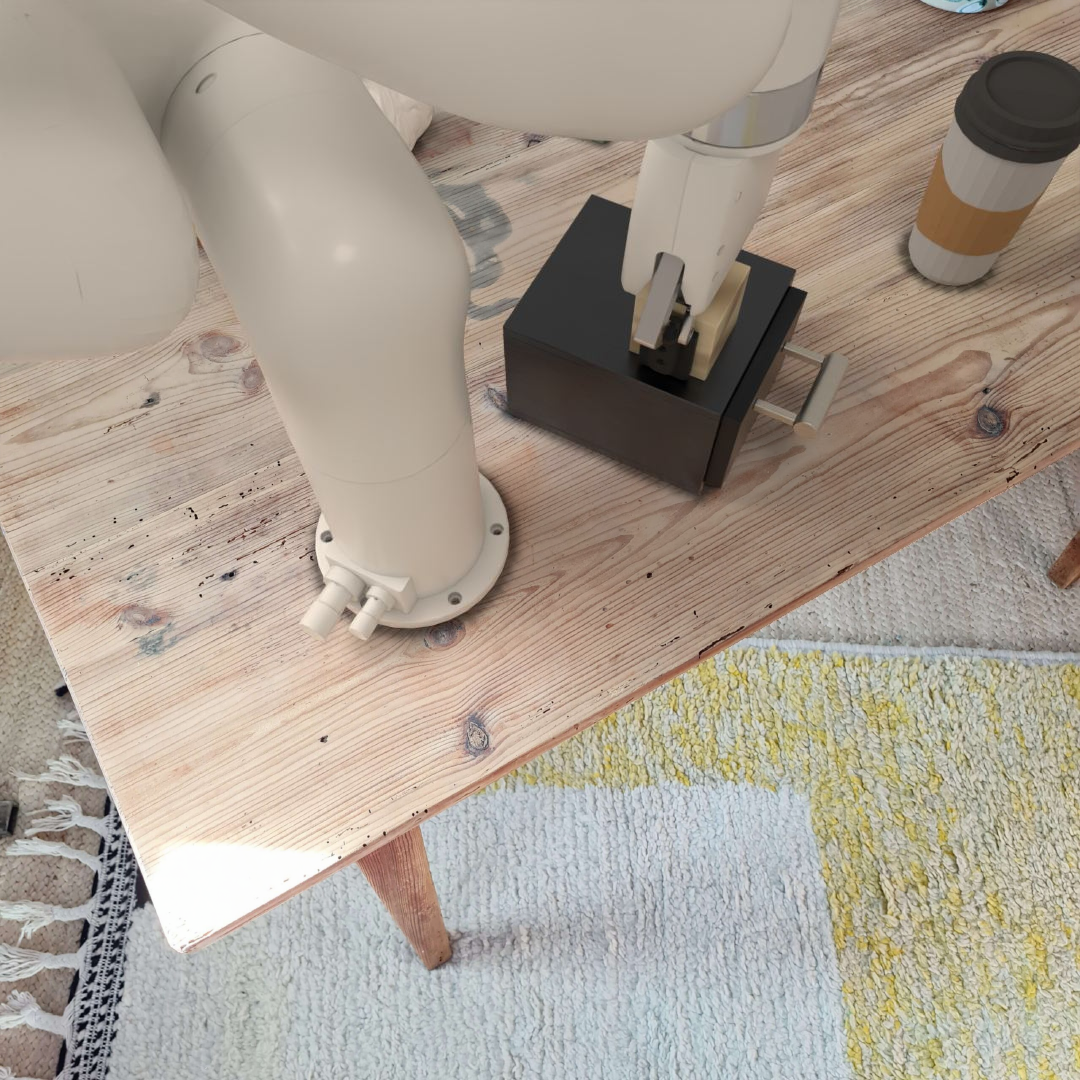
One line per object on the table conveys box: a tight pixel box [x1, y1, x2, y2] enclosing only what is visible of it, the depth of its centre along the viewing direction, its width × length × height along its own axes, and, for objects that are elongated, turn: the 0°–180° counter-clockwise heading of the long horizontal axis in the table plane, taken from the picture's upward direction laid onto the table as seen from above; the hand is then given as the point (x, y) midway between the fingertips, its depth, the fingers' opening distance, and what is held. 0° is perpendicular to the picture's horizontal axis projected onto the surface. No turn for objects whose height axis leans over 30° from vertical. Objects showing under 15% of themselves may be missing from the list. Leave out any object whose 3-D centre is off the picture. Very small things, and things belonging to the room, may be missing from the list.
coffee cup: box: [907, 49, 1080, 287], centre depth 68 cm, size 8×8×15 cm
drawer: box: [704, 286, 851, 490], centre depth 65 cm, size 18×11×8 cm, turn 63°
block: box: [629, 261, 750, 381], centre depth 58 cm, size 5×5×5 cm
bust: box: [358, 75, 435, 152], centre depth 77 cm, size 12×8×11 cm
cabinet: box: [502, 194, 797, 496], centre depth 66 cm, size 15×13×10 cm
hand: (683, 332), depth 59 cm, fingers closed on block, 5 cm apart
